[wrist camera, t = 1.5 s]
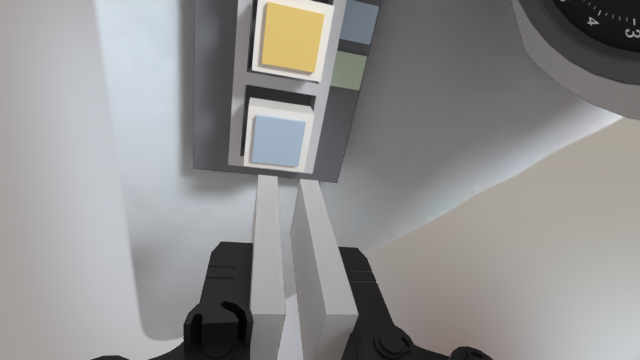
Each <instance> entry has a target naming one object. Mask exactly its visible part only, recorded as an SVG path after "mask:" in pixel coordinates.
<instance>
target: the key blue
mask: <svg viewBox="0 0 640 360" xmlns="http://www.w3.org/2000/svg"><path fill="white" fill-rule="evenodd" d="M313 121H314V113H313V110H312V108H311V107H310V106H304V105H297V104H291V103H284V102H278V101H271V100H265V99H258V98H252V97H250V102H249V108H248V120H247V131H246V143H245V154H244V166H250V167H259V168H268V169H278V170H287V171H297V172H304V169H305V164H306V159H307V153H308V148H309V142H310V137H311V131H312V126H313Z"/></svg>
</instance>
